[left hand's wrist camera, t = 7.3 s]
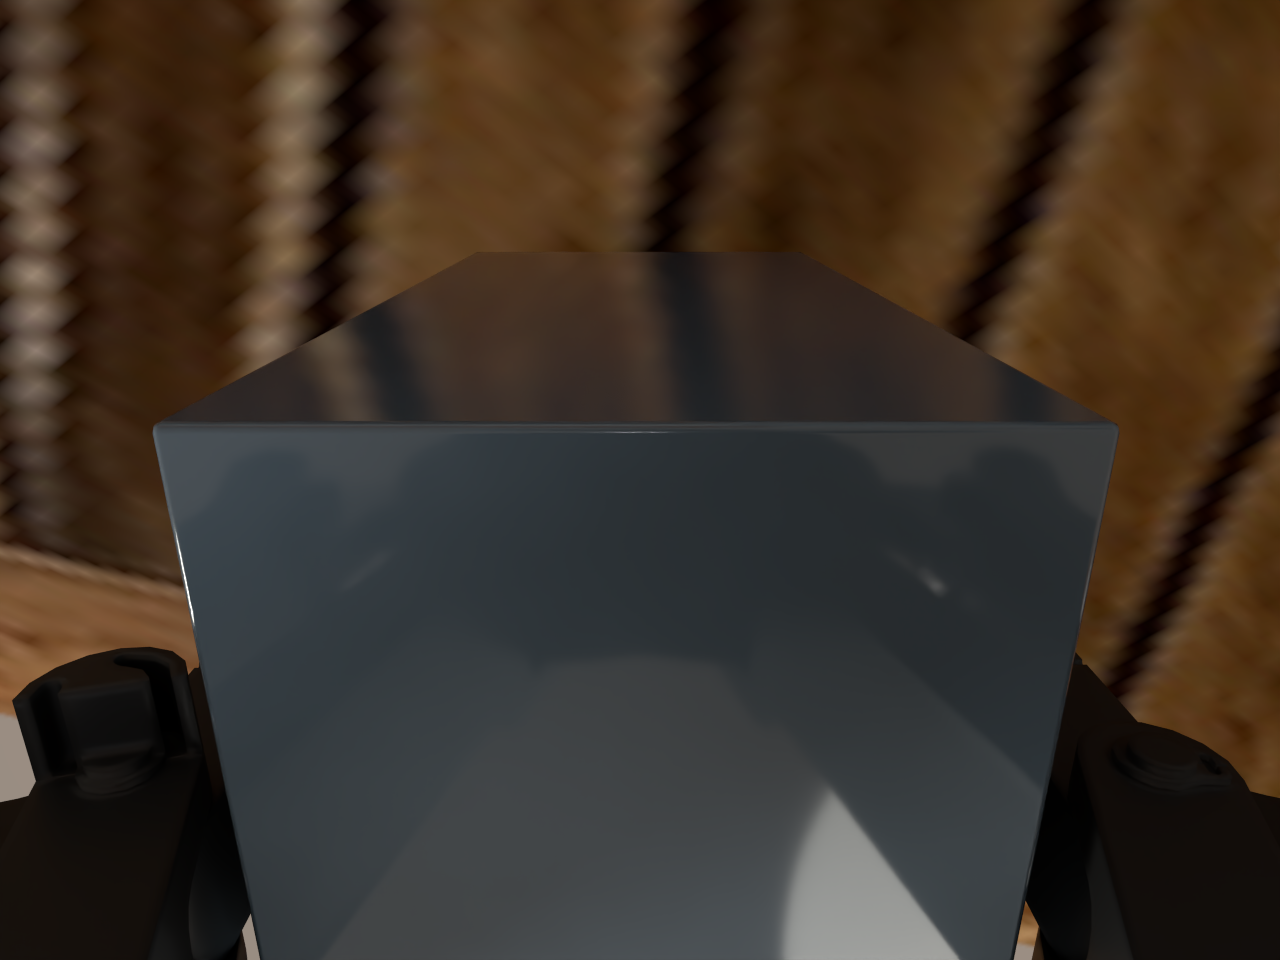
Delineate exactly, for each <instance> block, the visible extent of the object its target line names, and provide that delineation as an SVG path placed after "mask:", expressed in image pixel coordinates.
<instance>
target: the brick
mask: <svg viewBox="0 0 1280 960" xmlns="http://www.w3.org/2000/svg"><path fill="white" fill-rule="evenodd" d="M153 437H154V441H155V446H156V451H157V456H158V461H159V466H160V471H161V476H162V481H163V486H164V490H165V495H166V500H167V505H168V510H169V515H170V520H171V525H172V530H173V535H174V539H175V544H176V549H177V554H178V559H179V564H180V569H181V574H182V579H183V584H184V588H185V593H186V598H187V603H188V608H189V613H190V618H191V623H192V628H193V633H194V637H195V642H196V647H197V652H198V657H199V662H200V667H201V672H202V677H203V682H204V686H205V691H206V696H207V701H208V706H209V711H210V716H211V721H212V726H213V731H214V735H215V740H216V745H217V750H218V755H219V760H220V765H221V770H222V775H223V780H224V784H225V789H226V794H227V799H228V804H229V809H230V814H231V819H232V824H233V829H234V833H235V838H236V843H237V848H238V853H239V858H240V863H241V868H242V873H243V878H244V883H245V887H246V892H247V897H248V902H249V907H250V912H251V917H252V922H253V927H254V931H255V936H256V941H257V946H258V951H259V956H260V960H1014V955H1015V950H1016V945H1017V940H1018V935H1019V930H1020V925H1021V920H1022V915H1023V910H1024V905H1025V900H1026V895H1027V890H1028V886H1029V881H1030V876H1031V871H1032V866H1033V861H1034V856H1035V851H1036V846H1037V841H1038V836H1039V831H1040V826H1041V821H1042V816H1043V811H1044V806H1045V801H1046V796H1047V791H1048V786H1049V781H1050V776H1051V771H1052V766H1053V761H1054V756H1055V751H1056V746H1057V741H1058V736H1059V731H1060V726H1061V721H1062V716H1063V711H1064V706H1065V701H1066V696H1067V691H1068V686H1069V681H1070V676H1071V671H1072V666H1073V661H1074V656H1075V651H1076V646H1077V641H1078V636H1079V631H1080V626H1081V621H1082V616H1083V611H1084V607H1085V602H1086V597H1087V592H1088V587H1089V582H1090V577H1091V572H1092V567H1093V562H1094V557H1095V552H1096V547H1097V542H1098V537H1099V532H1100V527H1101V522H1102V517H1103V512H1104V507H1105V502H1106V497H1107V492H1108V487H1109V482H1110V477H1111V472H1112V467H1113V462H1114V457H1115V452H1116V447H1117V442H1118V437H1119V428H1118V425H1117V424H1116V423H1114V422H1112V421H1111V420H1109V419H1107V418H1105V417H1103V416H1101V415H1099V414H1098V413H1096V412H1094V411H1092V410H1090V409H1088V408H1087V407H1085V406H1083V405H1081V404H1079V403H1077V402H1076V401H1074V400H1072V399H1070V398H1068V397H1066V396H1065V395H1063V394H1061V393H1059V392H1057V391H1055V390H1053V389H1052V388H1050V387H1048V386H1046V385H1044V384H1042V383H1041V382H1039V381H1037V380H1035V379H1033V378H1031V377H1030V376H1028V375H1026V374H1024V373H1022V372H1020V371H1019V370H1017V369H1015V368H1013V367H1011V366H1009V365H1007V364H1006V363H1004V362H1002V361H1000V360H998V359H996V358H995V357H993V356H991V355H989V354H987V353H985V352H984V351H982V350H980V349H978V348H976V347H974V346H973V345H971V344H969V343H967V342H965V341H963V340H961V339H960V338H958V337H956V336H954V335H952V334H950V333H949V332H947V331H945V330H943V329H941V328H939V327H938V326H936V325H934V324H932V323H930V322H928V321H927V320H925V319H923V318H921V317H919V316H917V315H915V314H914V313H912V312H910V311H908V310H906V309H904V308H903V307H901V306H899V305H897V304H895V303H893V302H892V301H890V300H888V299H886V298H884V297H882V296H881V295H879V294H877V293H875V292H873V291H871V290H869V289H868V288H866V287H864V286H862V285H860V284H858V283H857V282H855V281H853V280H851V279H849V278H847V277H846V276H844V275H842V274H840V273H838V272H836V271H835V270H833V269H831V268H829V267H827V266H825V265H823V264H822V263H820V262H818V261H816V260H814V259H812V258H811V257H809V256H807V255H805V254H803V253H801V252H476V253H474V254H472V255H470V256H469V257H467V258H465V259H463V260H461V261H459V262H457V263H455V264H454V265H452V266H450V267H448V268H446V269H444V270H442V271H440V272H439V273H437V274H435V275H433V276H431V277H429V278H427V279H426V280H424V281H422V282H420V283H418V284H416V285H414V286H412V287H411V288H409V289H407V290H405V291H403V292H401V293H399V294H397V295H396V296H394V297H392V298H390V299H388V300H386V301H384V302H382V303H381V304H379V305H377V306H375V307H373V308H371V309H369V310H368V311H366V312H364V313H362V314H360V315H358V316H356V317H354V318H353V319H351V320H349V321H347V322H345V323H343V324H341V325H339V326H338V327H336V328H334V329H332V330H330V331H328V332H326V333H324V334H323V335H321V336H319V337H317V338H315V339H313V340H311V341H310V342H308V343H306V344H304V345H302V346H300V347H298V348H296V349H295V350H293V351H291V352H289V353H287V354H285V355H283V356H281V357H280V358H278V359H276V360H274V361H272V362H270V363H268V364H266V365H265V366H263V367H261V368H259V369H257V370H255V371H253V372H252V373H250V374H248V375H246V376H244V377H242V378H240V379H238V380H237V381H235V382H233V383H231V384H229V385H227V386H225V387H223V388H222V389H220V390H218V391H216V392H214V393H212V394H210V395H208V396H207V397H205V398H203V399H201V400H199V401H197V402H195V403H194V404H192V405H190V406H188V407H186V408H184V409H182V410H180V411H179V412H177V413H175V414H173V415H171V416H169V417H167V418H165V419H164V420H162V421H160V422H158V423H156V424H155V426H154V429H153Z"/></svg>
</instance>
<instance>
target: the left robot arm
mask: <svg viewBox="0 0 1280 960" xmlns="http://www.w3.org/2000/svg"><path fill="white" fill-rule="evenodd" d="M12 702H13V705H14V709H15V712H16V715H17V719H18V722H19V725H20V729H21V732H22V736H23V739H24V742H25V746H26V749H27V753H28V756H29V759H30V762H31V766H32V769H33V773H34V776H35V780H36V782H35V784H34V786H33V788H32V790H31V792H30V794H29V796H26V797H22V798H19V799H14V800H9V801H4V802H0V960H247V953H246V947H245V942H244V937H243V933H242V929H243V927H244V925H245V923H246V921H247V920H248V918H249V916H250V914H251V912H250V907H249V902H248V897H247V892H246V887H245V883H244V878H243V873H242V868H241V863H240V858H239V853H238V848H237V843H236V838H235V833H234V829H233V824H232V819H231V814H230V809H229V804H228V799H227V794H226V789H225V784H224V780H223V775H222V770H221V765H220V760H219V755H218V750H217V745H216V740H215V735H214V731H213V726H212V721H211V716H210V711H209V706H208V701H207V696H206V691H205V686H204V682H203V677H202V672H201V667H200V662H199V668H194V669H193V670H192V671H191V673H190V674H189V675H188V671H187V667H186V662H185V660H184V659H182V658H181V657H180V656H178V655H177V654H176V653H174V652H173V651H169V650H164V649H158V648H153V647H138V648H120V649H115V650H111V651H106V652H102V653H97V654H92V655H88V656H85V657H83V658H80V659H77V660H75V661H72V662H69V663H67V664H64V665H62V666H59V667H56V668H55V669H53V670H51V671H49V672H48V673H46V674H44V675H43V676H41V677H39V678H37V679H36V680H34V681H32V682H31V683H29V684H28V685H27V686H26V687H25V688H24V689H23V690H22V691H21V692H20V693H19V694H18V695H17V696H16V697H15V698H14V699H13V700H12ZM1026 902H1027V904H1028V906H1029V908H1030V910H1031V912H1032V914H1033V916H1034V918H1035V919H1036V921H1037V923H1038V925H1039V928H1038V933H1037V937H1036V942H1035V947H1034V952H1033V956H1032V960H1280V798H1276V797H1271V796H1267V795H1262V794H1258V793H1255V792H1251V791H1250V790H1249V788H1248V786H1247V785H1246V783H1245V781H1244V779H1243V778H1242V777H1241V776H1240V775H1239V773H1238V772H1237V771H1236V770H1235V769H1234V767H1233V766H1232V765H1231V764H1230V763H1229V761H1227V760H1226V759H1224V758H1223V757H1222V756H1220V755H1219V754H1217V753H1216V752H1214V751H1213V750H1211V749H1210V748H1209V747H1207V746H1206V745H1204V744H1203V743H1200V742H1198V741H1196V740H1194V739H1191V738H1189V737H1187V736H1184V735H1182V734H1180V733H1178V732H1175V731H1173V730H1169V729H1166V728H1162V727H1158V726H1154V725H1150V724H1146V723H1142V722H1137V721H1136V719H1135V718H1134V717H1133V716H1132V715H1131V714H1130V713H1129V712H1128V711H1127V709H1126V708H1125V707H1124V706H1123V705H1122V704H1121V703H1120V702H1119V700H1118V699H1117V698H1116V697H1115V696H1114V695H1113V694H1112V693H1111V691H1110V690H1109V689H1108V688H1107V687H1106V686H1105V685H1104V684H1103V683H1102V681H1101V680H1100V679H1099V678H1098V677H1097V676H1096V675H1095V674H1094V672H1093V671H1092V670H1091V669H1090V668H1089V667H1088V666H1087V665H1083V664H1082V659H1081V658H1080V657H1079V656H1078V654H1077V653H1076V652H1075V656H1074V661H1073V666H1072V671H1071V676H1070V681H1069V686H1068V691H1067V696H1066V701H1065V706H1064V711H1063V716H1062V721H1061V726H1060V731H1059V736H1058V741H1057V746H1056V751H1055V756H1054V761H1053V766H1052V771H1051V776H1050V781H1049V786H1048V791H1047V796H1046V801H1045V806H1044V811H1043V816H1042V821H1041V826H1040V831H1039V836H1038V841H1037V846H1036V851H1035V856H1034V861H1033V866H1032V871H1031V876H1030V881H1029V886H1028V890H1027V895H1026Z"/></svg>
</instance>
